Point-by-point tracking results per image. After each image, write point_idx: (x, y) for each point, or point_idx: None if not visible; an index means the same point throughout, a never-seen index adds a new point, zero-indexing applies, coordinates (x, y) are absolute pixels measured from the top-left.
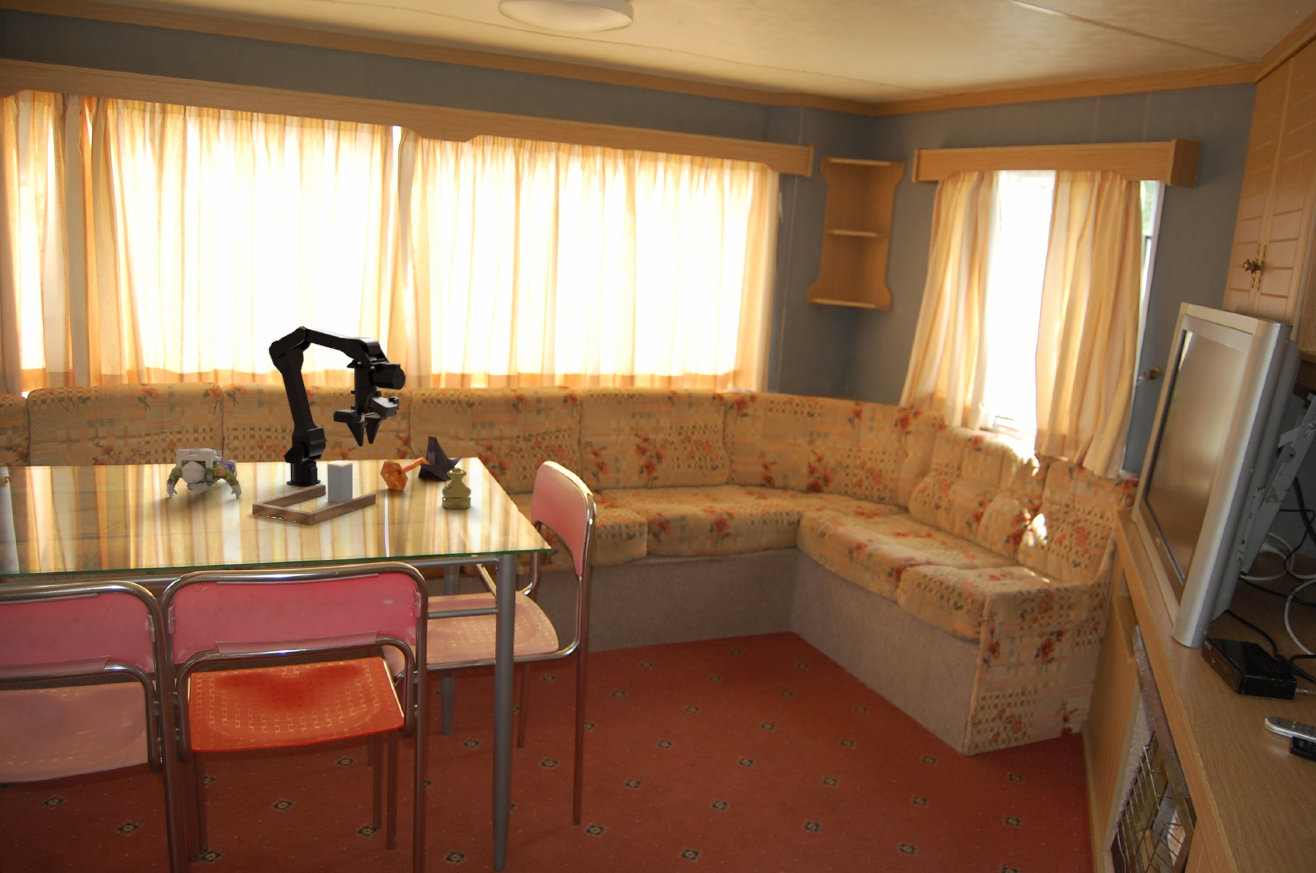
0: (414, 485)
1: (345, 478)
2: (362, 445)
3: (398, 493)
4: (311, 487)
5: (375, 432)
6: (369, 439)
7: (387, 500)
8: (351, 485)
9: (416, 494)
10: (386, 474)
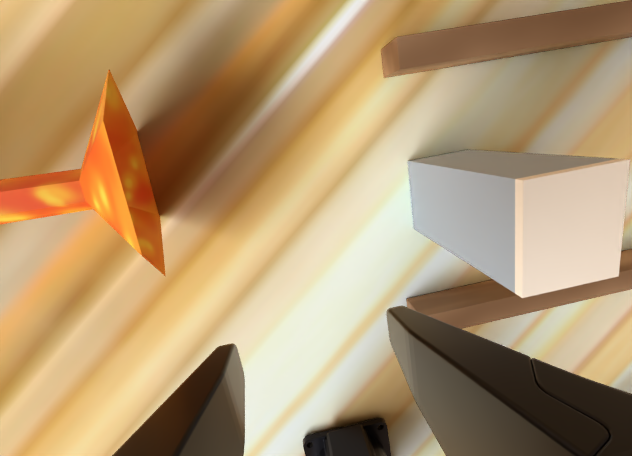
0: (23, 173)
1: (520, 159)
2: (395, 309)
3: (188, 110)
4: (479, 320)
5: (160, 441)
6: (238, 405)
7: (311, 49)
8: (446, 164)
9: (130, 25)
10: (142, 247)
